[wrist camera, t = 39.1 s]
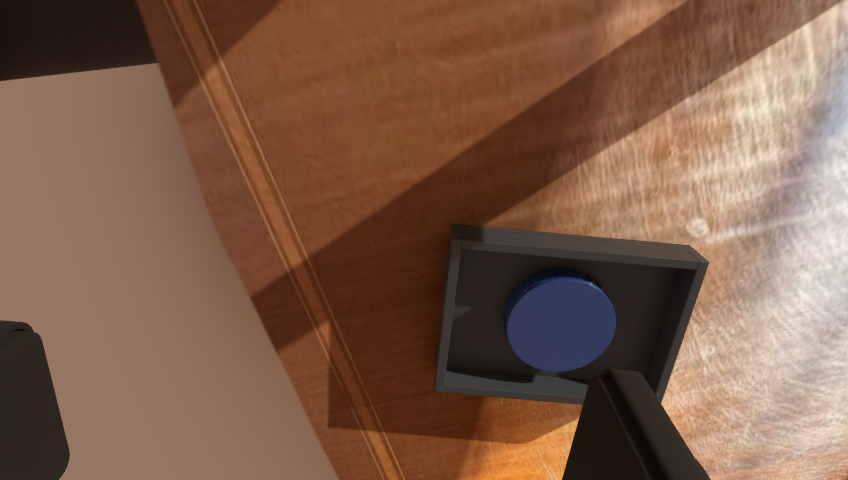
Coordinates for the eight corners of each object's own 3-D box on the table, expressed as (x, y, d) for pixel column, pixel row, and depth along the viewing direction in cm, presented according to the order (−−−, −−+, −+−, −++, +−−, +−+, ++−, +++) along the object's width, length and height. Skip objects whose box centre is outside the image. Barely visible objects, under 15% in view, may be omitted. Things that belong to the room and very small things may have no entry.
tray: (434, 368, 36) (434, 391, 34) (451, 223, 31) (452, 238, 29) (644, 387, 36) (658, 411, 34) (690, 245, 32) (709, 261, 29)
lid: (494, 351, 34) (497, 366, 33) (513, 260, 32) (517, 272, 30) (594, 362, 35) (601, 378, 33) (620, 273, 32) (630, 286, 30)
